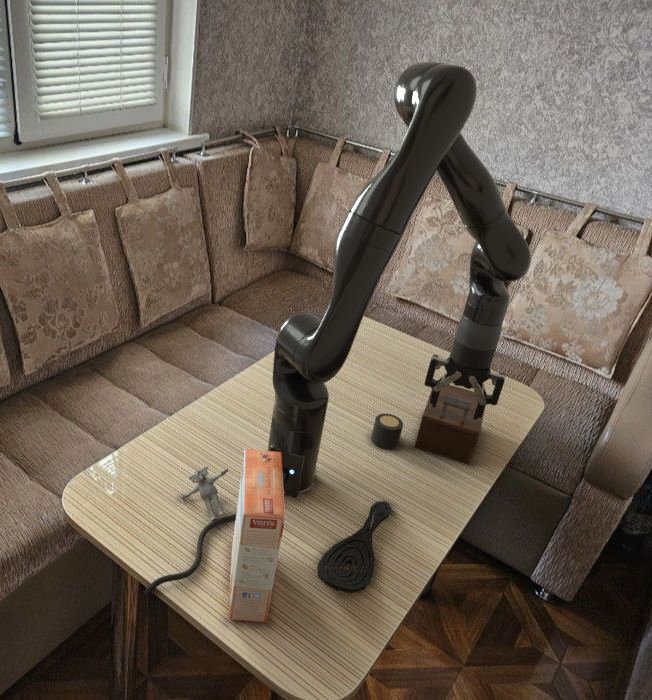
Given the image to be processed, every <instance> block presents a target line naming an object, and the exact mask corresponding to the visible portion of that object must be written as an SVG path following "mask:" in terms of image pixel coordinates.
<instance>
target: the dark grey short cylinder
mask: <svg viewBox="0 0 652 700" xmlns="http://www.w3.org/2000/svg"><path fill="white" fill-rule="evenodd" d="M403 427H404V422H403V421H402V418H400V417H398V415H395V414H391V413H380V414H378V415H376V416H375V419H374V423H373V427H372V433H371V437H370V440H371V443H372V444H373V445H374V446H375V447H378V448H380V449H382V450H395V449H396V448H397V447H398V446H399V444H400V443H399V442H400V439H401V435H402V431H403Z"/></svg>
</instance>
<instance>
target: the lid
mask: <svg viewBox="0 0 652 700" xmlns="http://www.w3.org/2000/svg"><path fill="white" fill-rule="evenodd" d="M429 393H430V394H429V397H428V399H427V401H426V405H425V408H424V410H423V413H422V417H421V420H422V419H426V420H429V421H432V422H436V423H439V424H442V425H445V426H449V427H452V428H455V429H459V430H462V431H465V432H469V433H472V434H475V435H479V436H480V434H481V430H482V425H483V421H484V415H485V412H486V407H485V408H484V411H483V414H482V417H481V418H477V420H475V419H473V417H474V413H475V410H476V407H477V404H478V400H479V399H478V397H477V396H476V394H475V392H474V390H471V389H467V388H464V387H460V386H456V385H451V384H449V385H448V386H447V387H444V388H442V389H441V390H440V394H439V397H438V401H437V404H436V407H435V408H434V407H432V405H433V404H430V398H431V394H432V389H431V390H430V392H429Z"/></svg>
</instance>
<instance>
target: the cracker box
mask: <svg viewBox="0 0 652 700" xmlns="http://www.w3.org/2000/svg"><path fill="white" fill-rule="evenodd" d="M237 497H238V498H237V506H236V513H235V514H236V520H234V527H233V528H234V529H233V536H232V543H231V555H230V556H231V557H230V577H229V578H230V580H229V581H230V582H229V605H228V606H229V608H228V609H229V611H228V620H232V621H243V622H246V621H247V622H255V623H267V621H268V615H269V610H270V605H271V600H272V593H273V587H274V582H275V576H276V572H277V565H278V560H279V559H278V558H279V553H280V548H281V544H282V543H281V542H282V538H283V532H284V526H285V522H286V510H285V507H286V506H285V495H284V489H283V471H282V453H281V452H274V451H268V450H259V449H250V448H249V449H248V448H244V451H243V457H242V465H241V473H240V481H239V490H238V496H237Z"/></svg>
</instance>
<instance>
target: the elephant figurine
mask: <svg viewBox="0 0 652 700" xmlns="http://www.w3.org/2000/svg"><path fill="white" fill-rule="evenodd" d="M208 469H209V466H204V467H203V468H201V469H198V470H196V471H194V473H193V474H191V475H189V477H188V480H190V481H191V482H192V483H193V484H195V483H197V484H196V485H195V486H194V487H193V488H192V489H191V490H190V491H189V492H188V493H185V494H183V495H182V496H181V497H180V499H182V500H184V499H187V498H189V497H190V496H191V495H194V494H196V493H198V492H199V496H200V498H201V499H202V501H204V505H205V507H206V509H207V512H208V515H209V518H210V521H211V522H213V521H215V520H217V519H218V517H217V514H218V516H224V515H226V512H225V510H224V508H223V506H222V505H221V502H220V499H219V496H218V492H219V490H218V489H217V487H216V486H215V482H216V481H217V480H218V479H220V478H221V477H223V476H225V475H226V474H227V473H228V472H229V468H226V469H224V470H222V471H220V473H219V474H215V475H212V476H209V477H207V476H208V474H209V473H208V472H209V471H208ZM212 502H213V504H214V506H213V504H212ZM214 507H215V509H216V512H217V514H216V512H215V509H214Z"/></svg>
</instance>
